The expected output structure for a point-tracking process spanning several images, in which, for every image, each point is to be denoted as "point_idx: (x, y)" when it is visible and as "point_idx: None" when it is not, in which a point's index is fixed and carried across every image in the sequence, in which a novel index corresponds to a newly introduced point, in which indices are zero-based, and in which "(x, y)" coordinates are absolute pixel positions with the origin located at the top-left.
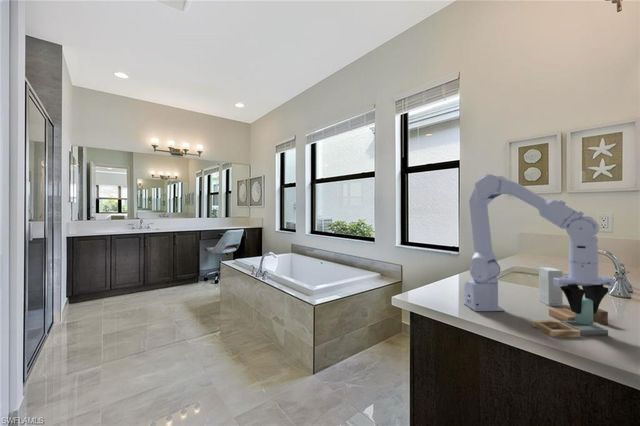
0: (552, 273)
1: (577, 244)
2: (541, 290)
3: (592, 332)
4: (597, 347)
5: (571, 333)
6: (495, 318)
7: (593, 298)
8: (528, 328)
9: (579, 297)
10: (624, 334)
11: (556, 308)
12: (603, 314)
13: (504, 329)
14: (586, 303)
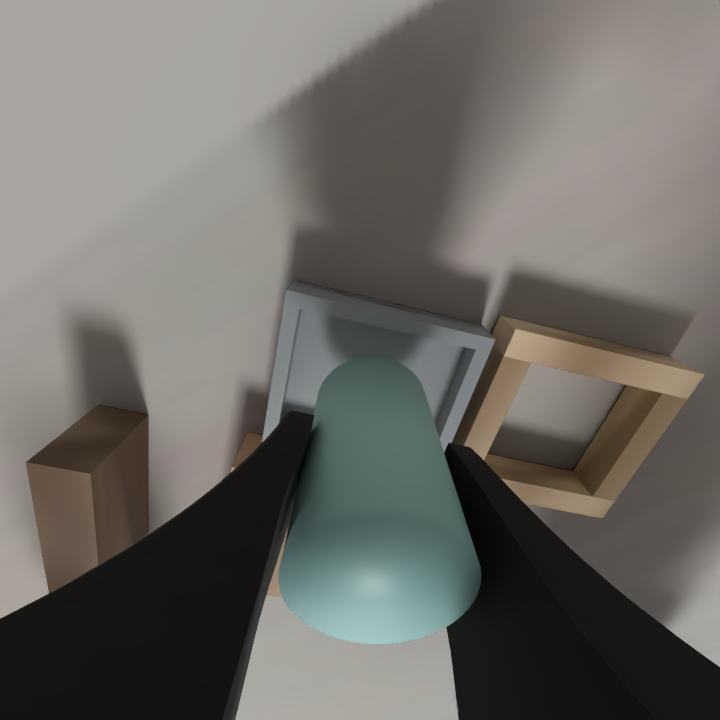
0: None
1: None
2: None
3: (404, 313)
4: (591, 160)
5: (568, 338)
6: (647, 591)
7: (267, 568)
8: (643, 475)
9: (623, 617)
10: (150, 265)
11: (271, 594)
12: (81, 454)
13: None
14: (443, 506)
